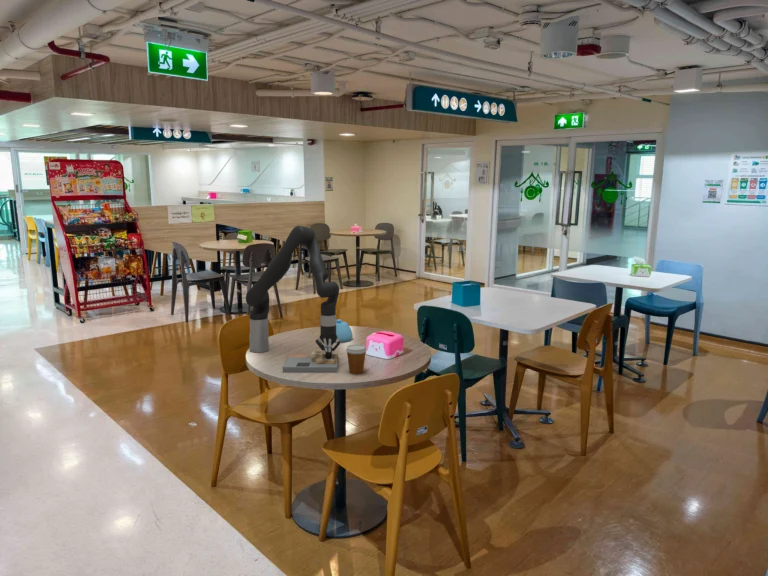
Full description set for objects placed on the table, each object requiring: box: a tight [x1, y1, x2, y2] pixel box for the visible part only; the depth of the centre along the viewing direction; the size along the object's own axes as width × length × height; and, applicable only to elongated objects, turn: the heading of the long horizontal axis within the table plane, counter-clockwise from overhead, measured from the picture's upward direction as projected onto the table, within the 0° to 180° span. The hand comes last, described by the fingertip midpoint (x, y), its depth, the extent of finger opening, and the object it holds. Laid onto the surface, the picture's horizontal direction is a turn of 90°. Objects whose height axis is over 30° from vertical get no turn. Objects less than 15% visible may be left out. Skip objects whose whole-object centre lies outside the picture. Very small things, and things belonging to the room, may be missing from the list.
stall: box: [315, 353, 339, 364], centre depth 269 cm, size 10×10×2 cm
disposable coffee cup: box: [345, 344, 368, 375], centre depth 260 cm, size 10×10×12 cm
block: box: [311, 350, 324, 362], centre depth 269 cm, size 5×5×4 cm
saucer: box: [287, 352, 309, 358], centre depth 282 cm, size 10×10×1 cm
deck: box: [282, 356, 340, 374], centre depth 267 cm, size 25×15×2 cm, turn 90°
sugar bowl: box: [334, 318, 353, 344], centre depth 314 cm, size 15×15×12 cm
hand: (328, 358), depth 269 cm, fingers closed
